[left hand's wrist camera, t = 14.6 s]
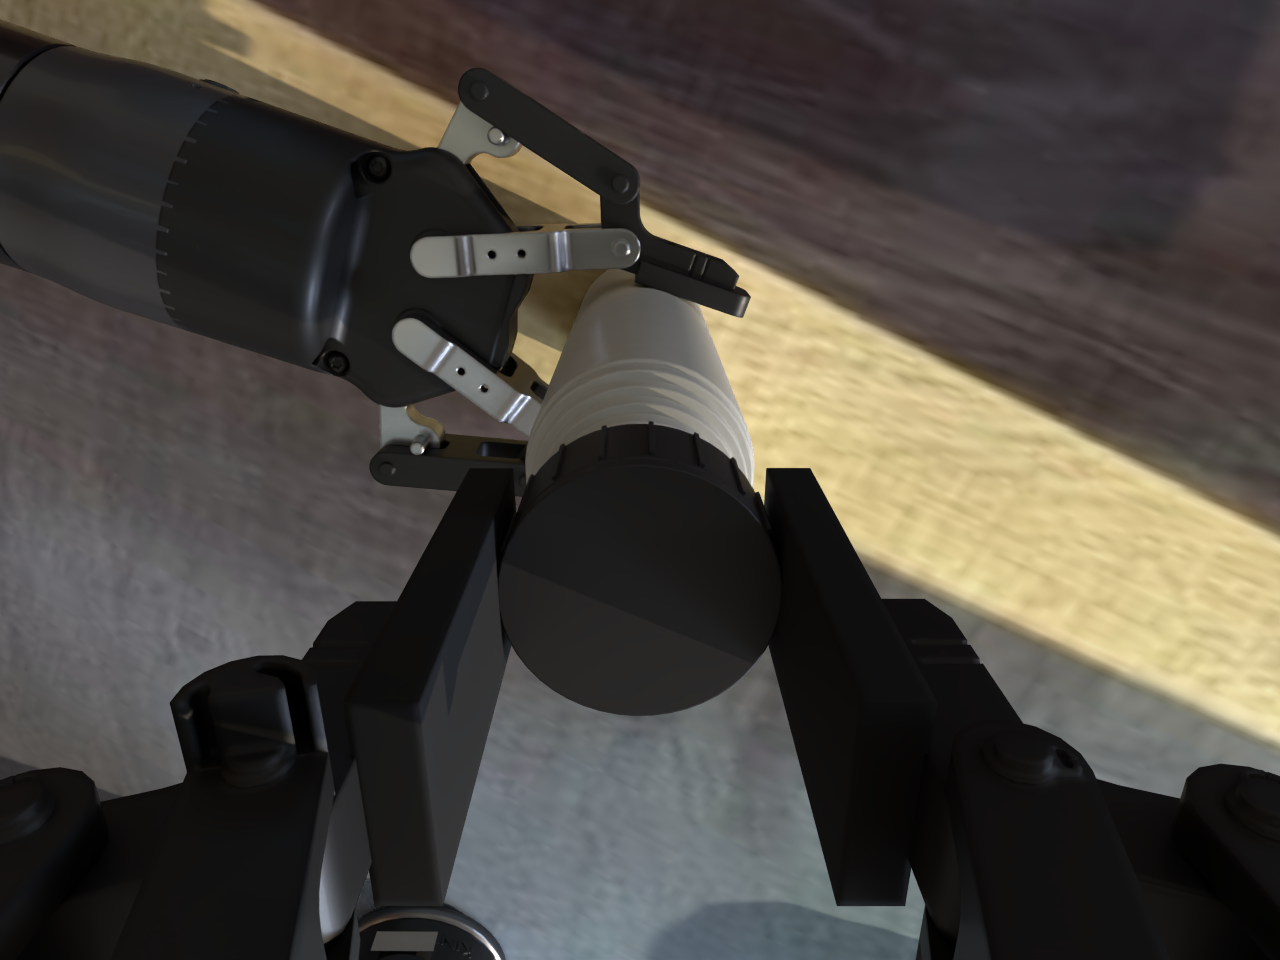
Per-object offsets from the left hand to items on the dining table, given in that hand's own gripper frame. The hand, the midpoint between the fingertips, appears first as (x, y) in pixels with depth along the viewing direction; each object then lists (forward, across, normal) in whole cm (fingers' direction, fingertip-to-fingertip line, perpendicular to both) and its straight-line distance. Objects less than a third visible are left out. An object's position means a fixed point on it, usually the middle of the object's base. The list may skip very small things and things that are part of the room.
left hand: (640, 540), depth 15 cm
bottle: (+20, 0, 0) cm, 20 cm away
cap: (-2, 0, 0) cm, 2 cm away
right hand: (+14, -2, +1) cm, 14 cm away
